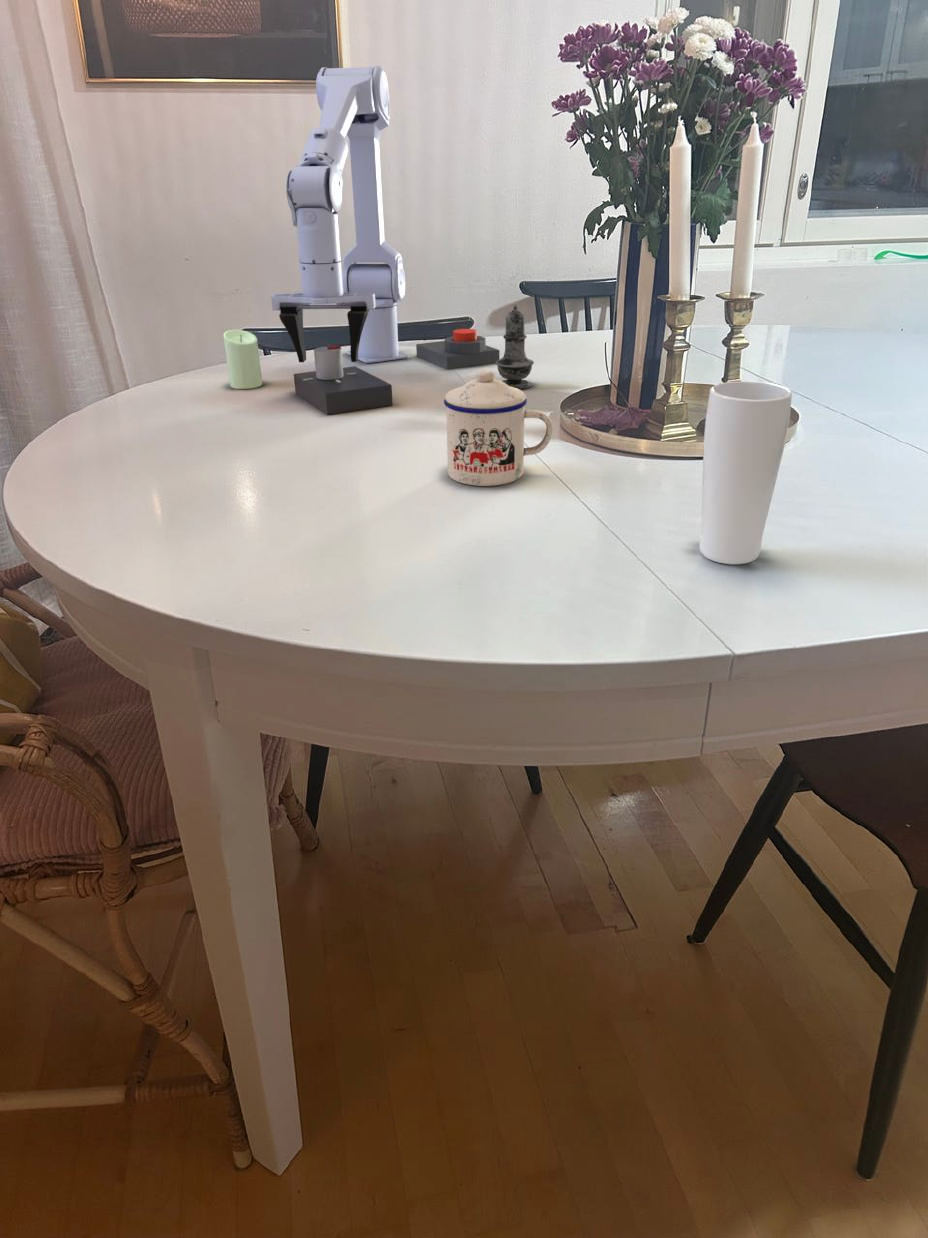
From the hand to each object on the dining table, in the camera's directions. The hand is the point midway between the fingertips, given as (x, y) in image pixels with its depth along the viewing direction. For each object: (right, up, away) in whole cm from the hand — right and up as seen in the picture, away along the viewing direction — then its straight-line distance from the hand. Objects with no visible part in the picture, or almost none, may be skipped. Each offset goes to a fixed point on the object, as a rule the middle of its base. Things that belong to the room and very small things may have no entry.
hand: (328, 360), depth 132 cm
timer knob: (0, -2, +1) cm, 2 cm away
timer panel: (+2, -5, +1) cm, 6 cm away
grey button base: (+19, +7, +24) cm, 31 cm away
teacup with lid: (+24, -22, -29) cm, 44 cm away
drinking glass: (+44, -32, -50) cm, 74 cm away
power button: (+20, +9, +20) cm, 30 cm away
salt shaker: (+28, -2, +7) cm, 29 cm away
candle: (-14, -1, +10) cm, 18 cm away
